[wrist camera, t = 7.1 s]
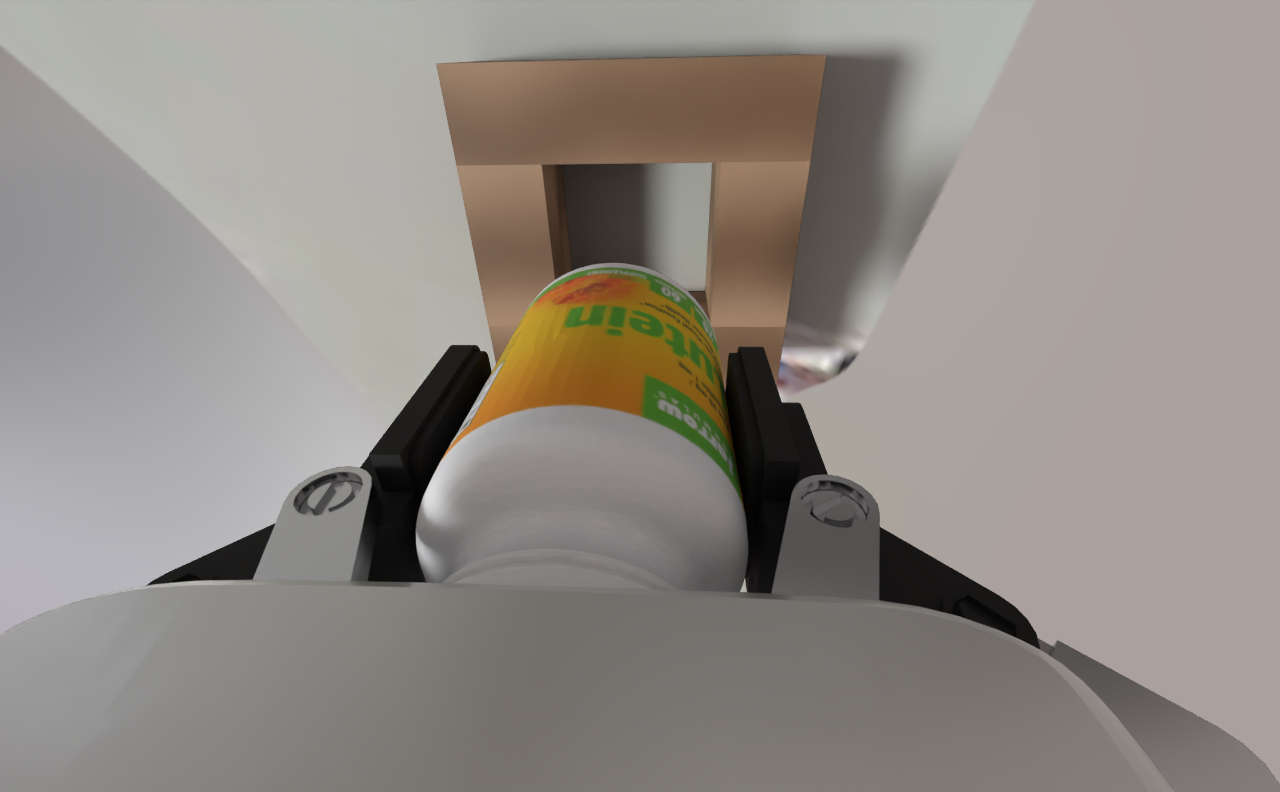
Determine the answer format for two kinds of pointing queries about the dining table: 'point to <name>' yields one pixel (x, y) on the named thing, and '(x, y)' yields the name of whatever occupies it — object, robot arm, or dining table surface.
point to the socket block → (638, 133)
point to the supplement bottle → (594, 449)
